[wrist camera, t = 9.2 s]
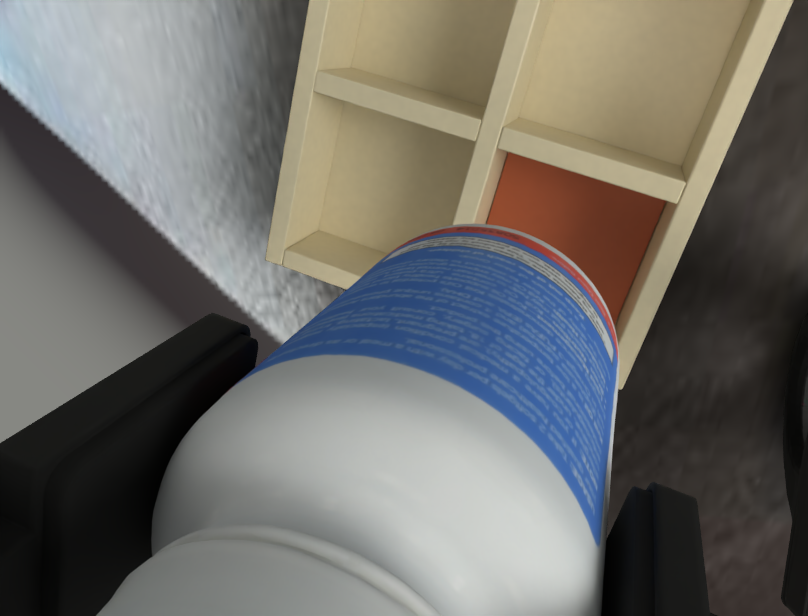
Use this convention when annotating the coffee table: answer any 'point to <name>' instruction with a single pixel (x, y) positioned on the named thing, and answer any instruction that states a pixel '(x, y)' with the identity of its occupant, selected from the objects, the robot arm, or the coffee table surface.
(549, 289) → the pill bottle
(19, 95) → the coffee table surface
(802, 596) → the controller
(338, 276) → the open box
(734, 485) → the coffee table surface
